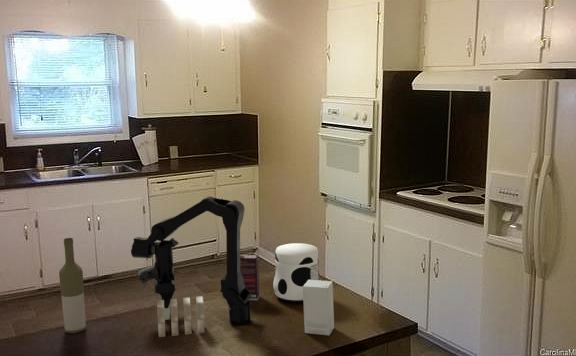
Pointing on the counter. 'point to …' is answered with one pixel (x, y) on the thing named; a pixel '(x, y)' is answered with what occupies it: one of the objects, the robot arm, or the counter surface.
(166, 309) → the domino
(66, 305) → the bottle
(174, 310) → the domino
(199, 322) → the end domino
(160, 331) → the domino
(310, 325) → the skincare box
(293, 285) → the milk container
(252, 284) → the supplement box
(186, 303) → the domino
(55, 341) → the counter surface
